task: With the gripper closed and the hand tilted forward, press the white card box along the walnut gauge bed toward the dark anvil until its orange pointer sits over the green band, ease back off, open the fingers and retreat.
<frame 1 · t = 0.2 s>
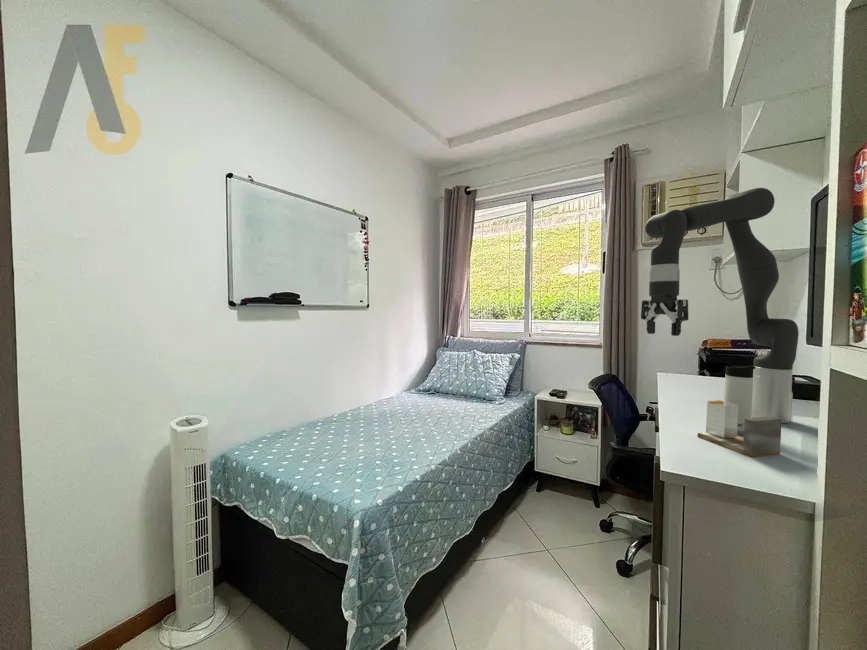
hand: (662, 334, 105), 29 cm above the table, tool pointing down, fingers open, 8 cm apart
travel mug: (736, 432, 104), on the table
white card box: (719, 418, 97), point 6 cm above the table, slide at 0.0 cm
gauge bed: (736, 444, 93), on the table
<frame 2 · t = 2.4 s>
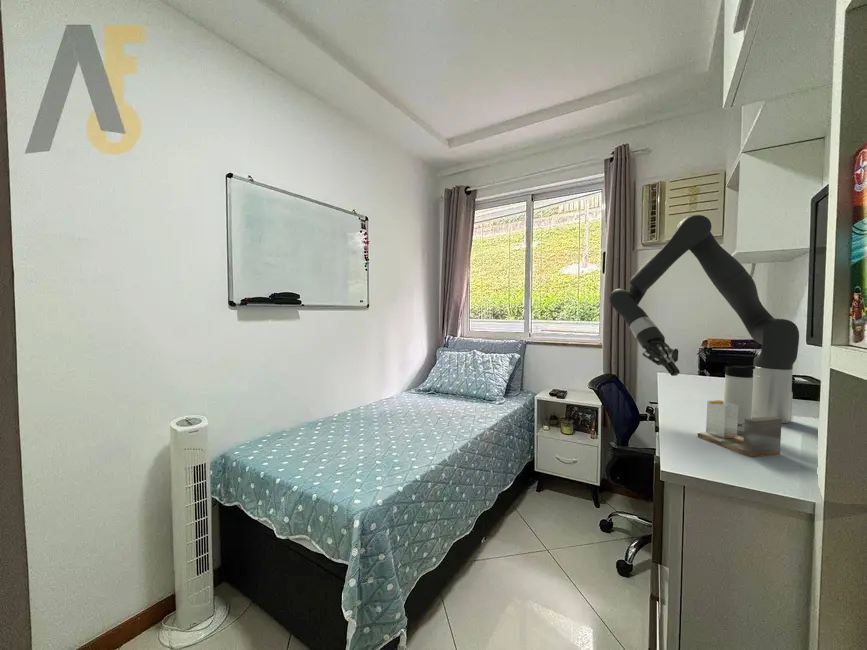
hand: (676, 374, 111), 16 cm above the table, tool tilted 45°, fingers closed
nothing on the table moved.
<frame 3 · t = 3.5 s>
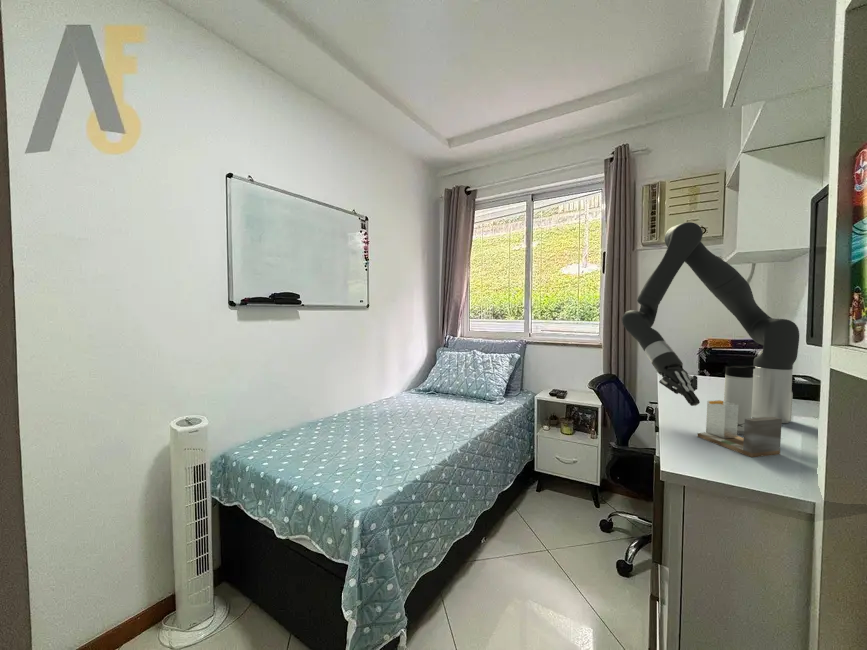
hand: (695, 404, 104), 8 cm above the table, tool tilted 45°, fingers closed
nothing on the table moved.
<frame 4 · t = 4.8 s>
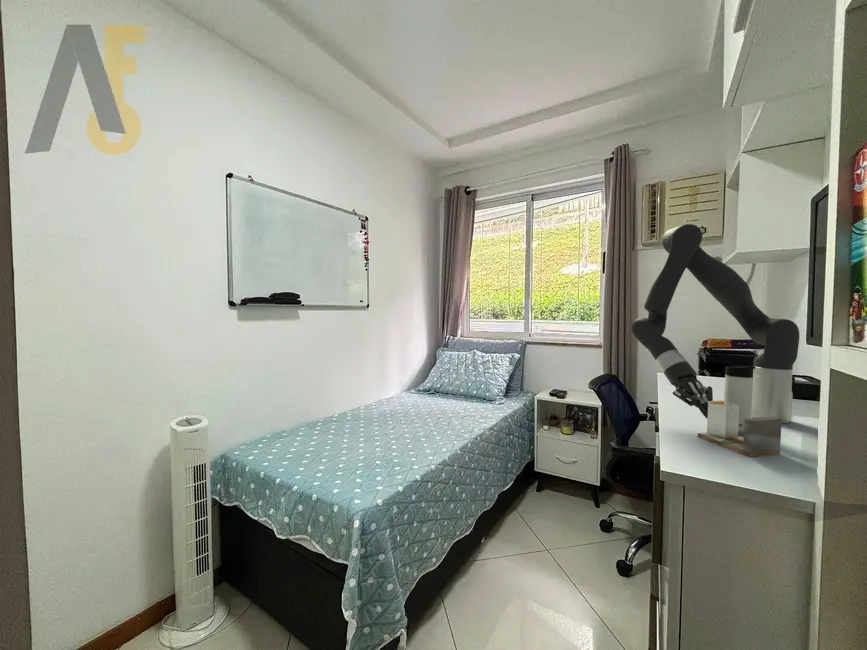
hand: (711, 417, 100), 5 cm above the table, tool tilted 45°, fingers closed
white card box: (720, 418, 97), point 6 cm above the table, slide at 0.3 cm, touching gripper
everything else where it was.
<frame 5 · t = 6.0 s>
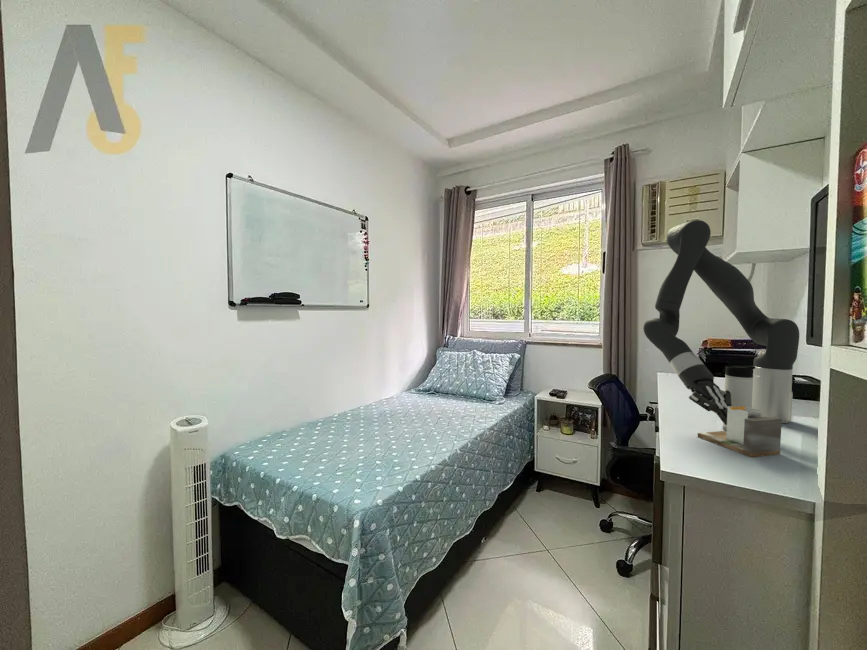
hand: (731, 423, 95), 5 cm above the table, tool tilted 45°, fingers closed
white card box: (740, 424, 91), point 6 cm above the table, slide at 5.6 cm, touching gripper
everything else where it was.
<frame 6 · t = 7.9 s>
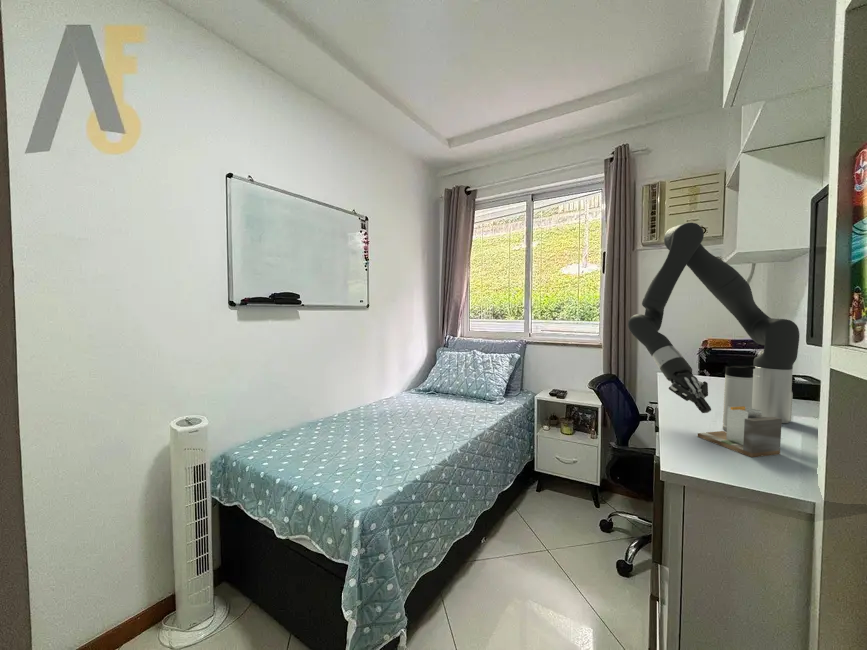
hand: (707, 411, 101), 7 cm above the table, tool tilted 45°, fingers closed
white card box: (740, 424, 91), point 6 cm above the table, slide at 5.6 cm
everything else where it was.
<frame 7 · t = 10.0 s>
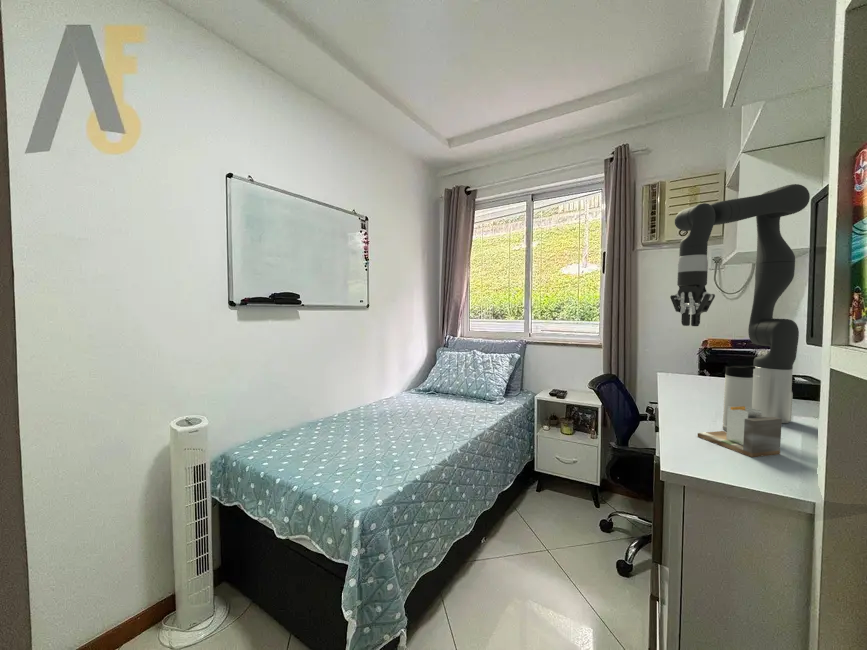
hand: (690, 325, 110), 31 cm above the table, tool pointing down, fingers closed
nothing on the table moved.
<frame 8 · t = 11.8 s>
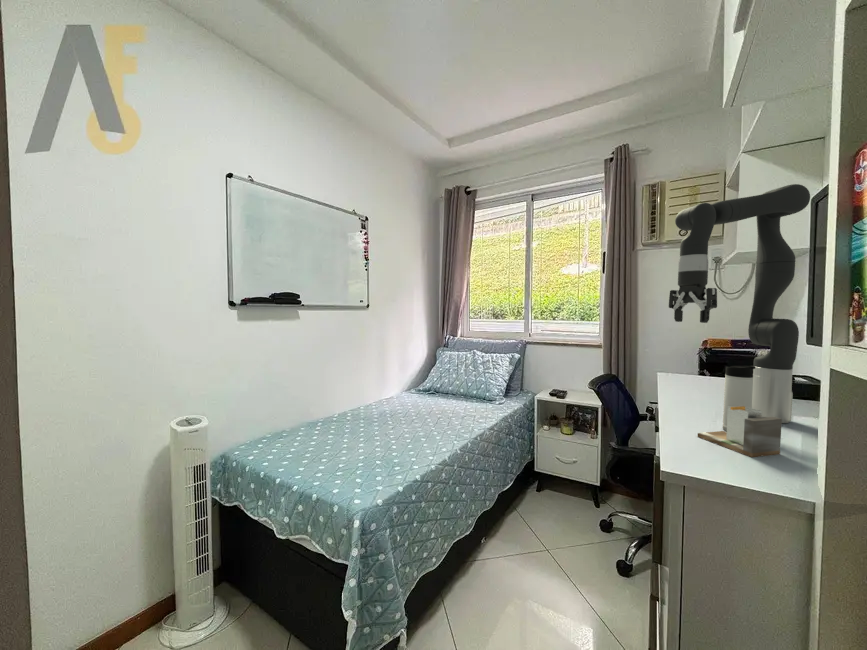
hand: (690, 322, 110), 32 cm above the table, tool pointing down, fingers open, 8 cm apart
nothing on the table moved.
at the end: white card box slide at 5.6 cm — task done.
